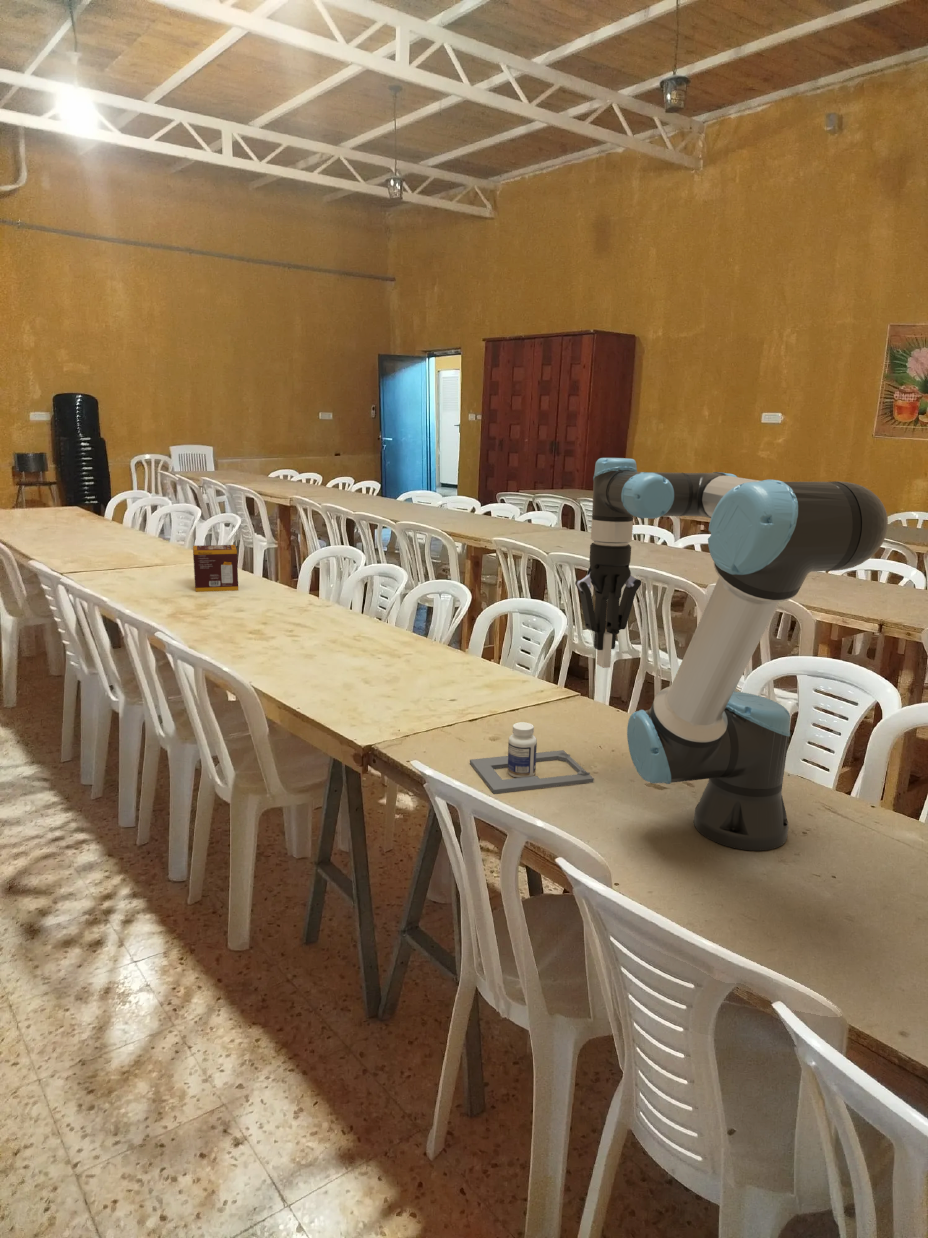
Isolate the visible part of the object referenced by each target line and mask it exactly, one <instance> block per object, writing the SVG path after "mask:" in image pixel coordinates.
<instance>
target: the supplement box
mask: <svg viewBox="0 0 928 1238" xmlns="http://www.w3.org/2000/svg"><path fill="white" fill-rule="evenodd" d="M192 554H193V555H192V556H193V573H194V574H193V575H194V586H195V587H194V588H195V593H207V592H208V593H209V592H230V591H231V592H235V591H239V571H238V570H239V567H238V550H237V547H236V544H216V545H215V544H214V545H210V544H208V545H205V544H203V545H193V546H192Z"/></svg>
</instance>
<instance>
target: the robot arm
mask: <svg viewBox="0 0 928 1238" xmlns="http://www.w3.org/2000/svg"><path fill="white" fill-rule="evenodd" d="M592 478H593V479H592V481H593V484H592V485H593V489H592V490H593V493H592V511H591V512H592V513H591V514H592V515H591V527H590V528H591V530H590V540H591V541H592V543H591V544H590V545H589V558H588V559H589V561H588V562H589V568H588V570H587V572H586V575H585V577H583V578H582V579H576V580H575V582H574V583H575V586H576V588H577V590H578V592H579V597H580V603H581V608H582V613H583V620H584V625H585V628H586V629H588V630H589V631H592V632H594V639H593V640H594V641H593V642H594V643H593V647H594V649H595V650H597V651H596V652H597V653H596V665H598V666H599V667H601V668H602V669H605V668H606V669H607V668H611V663H612V661H611V660H612V650H614V649H616V639H617V638H616V637H617V635H618V634H620V631H621V630H625V629H626V628H627V625H628V622H629V619H630V614H631V611H632V608H633V607H632V606H633V605H634V600H635V596H636V594H637V591H638V589H639V588H640V587H641V585H642V580H641V579H638V578H636V577H634V576H633V575H632V572H631V570H630V563H631V556H632V546H631V544H629V543H631V542H632V541H633V530H634V529H633V528H634V526H633V525H634V517H636V518H638V519H642V520H644V519H648V520H649V519H651V520H653V519H655V520H656V519H657V518H660V517H683V516H684V517H704V518H708V519H710V521H709V524H708V525H709V526H708V532H710V536H708V538H707V545H708V550H709V554H710V558H711V559H712V560H713V568H714V571H715V573H716V574H717V576H718V578H717V581H716V583H715V584H714V587H713V589H712V592H711V595H710V597H709V599H708V601H707V603H706V606H705V608H704V609H703V611H702V615H701V617H700V620H699V622H698V624H697V626H696V628H695V631H694V632H693V635H692V638H691V640H690V642H689V645H688V647H687V648H686V651H685V653H684V656H683V658H682V661H681V663H680V665H679V667H678V670H677V672H676V674H675V677H674V679H673V681H672V684H671V685H669V686H667V687H665V688H663V689H661V690H660V691H659V692H658V693H656V695H655V697H654V699H653V702H652V704H651V707H650V708H649V709H646V710H644V709H639V710H637V711H634V712H632V714H631V715H630V716H629V717H628V718H629V719H628V722H627V725H626V726H627V727H626V737H627V738H626V739H627V745H628V751H629V754H630V758H631V761H632V764H633V766H634V768H635V770H636V772H637V773H638V774H639V776H640V777H641V779H643V780H644V781H646V782H648V783H650V784H666V785H670V784H673V783H681V782H690V781H698V780H708V781H707V783H706V785H705V788H704V791H703V792H702V794H701V797H700V799H699V801H698V803H697V804H696V805H695V810H694V816H693V825H694V827H695V828H696V830H697V831H698V832H699V833H700V834H701V835H702V836H704V837H705V838H707V839H708V840H710V841H712V842H715V843H717V844H719V845H722V846H726V847H729V848H734V849H737V850H744V851H754V852H755V851H757V852H758V851H769V850H774V849H777V848H779V847H781V846H783V845H784V844H785V843H786V842H787V840H788V834H789V820H788V817H787V812H786V807H785V802H784V799H783V794H782V793H783V783H784V777H785V776H784V775H785V769H786V761H787V755H788V754H787V752H788V745H789V740H790V737H791V715H790V712H789V710H788V709H787V708H786V707H785V706H784V705H782V704H781V703H779V702H777V701H774V700H772V699H770V698H767V697H764V696H760V695H757V694H753V693H749V692H741V691H735V690H736V688H737V687H738V685H739V683H740V681H741V679H742V677H743V674H744V673H745V671H746V669H747V667H748V664H749V663H750V661H751V658H752V657H753V655H754V653H755V651H756V649H757V647H758V645H759V643H760V641H761V640H762V637H763V636H764V633H765V632H766V629H767V628H768V625H769V624H770V622H771V620H772V617H773V616H774V614H775V612H776V610H777V608H778V606H779V605H780V602H781V603H782V602H785V601H789V600H791V599H793V598H795V596H797V594H798V593H799V591H800V590H801V588H802V585H803V584H804V582H805V579H806V578H807V577H808V575H809V574H810V573H812V572H815V573H816V572H833V571H834V572H835V571H838V572H839V571H845V570H848V569H852V568H856V567H857V566H859V565H862V564H864V563H865V562H866V561H868V560H869V559H871V558H872V557H873V556H874V555H875V554H876V553H878V551H879V550H880V548H881V547H882V545H883V543H884V541H885V539H886V536H887V532H888V528H889V519H888V513H887V510H886V507H885V505H884V503H883V502H882V500H881V499H880V497H879V496H878V495H877V494H876V493H874V492H873V491H872V490H870V489H869V488H867V487H865V486H863V485H861V484H857V483H854V482H848V481H841V480H840V481H781V480H780V479H779V480H778V479H764V480H757V479H751V478H744V477H738V476H737V475H735V474H733V473H725V472H720V471H719V472H718V471H716V472H667V471H666V472H662V471H661V472H659V471H657V472H655V471H654V472H652V471H651V472H650V471H649V472H647V471H638V467H637V462H636V459H633V458H626V457H625V458H624V457H600V458H598V459H597V460H596V461H595V466H594V474H593V477H592ZM592 586H593V588H594V596H595V600H594V601H595V604H594V601H593V594H592V592H591V589H592ZM623 587H624V588H623ZM622 588H623V591H622Z"/></svg>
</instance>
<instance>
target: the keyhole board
mask: <svg viewBox="0 0 928 1238" xmlns="http://www.w3.org/2000/svg"><path fill="white" fill-rule="evenodd" d="M557 760H558V761H561V762H566V763H567V764H568V765H569V766H570V767H571V768H573V770H574V771H576V772H577V773H576V774H567V775H558V776H551V777H550V776H547V777H542V778H541V777H539V776H538V775H534V776H531V777H522V778H516V777H513V778H507V779H502V778H501V776H500V775H499V773H497V771H496V770H498V769H506V768H507V769H508V755H503V756H501V755H500V756H493V757H483V758H472V759H469V765H470V766H471V767H472V768H473V769H474V771H475V772H476V773H477V774H478V776H479V777H480V778H481V780H482V781H483V782H484V784H485V785H486V786H487V787H488V789H489V790H490V791H491V792H492V794H493V795H497V794H504V793H515V792H521V791H522V792H523V791H530V790H539V789H548V788H556V787H566V786H575V785H583V784H590V783H591V784H592V783H594V782H595V778H594V777H593V776H592V775H591V772H588V771H587V770H585V769H584V768H583V767H582V766H581V765H580V764H579V763H578V762H577V761H576V760H575V759H573V758H572V757H571V754H569V753H567V752H566V751H565V750H564V749H562V750H551V751H542V752H541V751H540V752H536V763H538V762H539V763H540V762H548V761H549V762H550V761H557ZM495 769H496V770H495Z"/></svg>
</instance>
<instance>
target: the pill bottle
mask: <svg viewBox="0 0 928 1238" xmlns="http://www.w3.org/2000/svg"><path fill="white" fill-rule="evenodd" d="M534 728H535V727H534V725H533V724H532V723H530V722H526V721H525V722H524V721H521V722H520V721H519V722H516V723H514V724H512V734H511V735H509V737H508V742H507V743H508V746H507V747H508V749H507V750H508V751H507V756H508V768H507V773H508V775H509V776H511V777H513V778H522V777H531V776H536V775H535V774H536V770H537V762H536V753H537V749H538V747H537V746H538V742H537V737H536V736H535V735H534V733H535V729H534Z"/></svg>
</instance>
